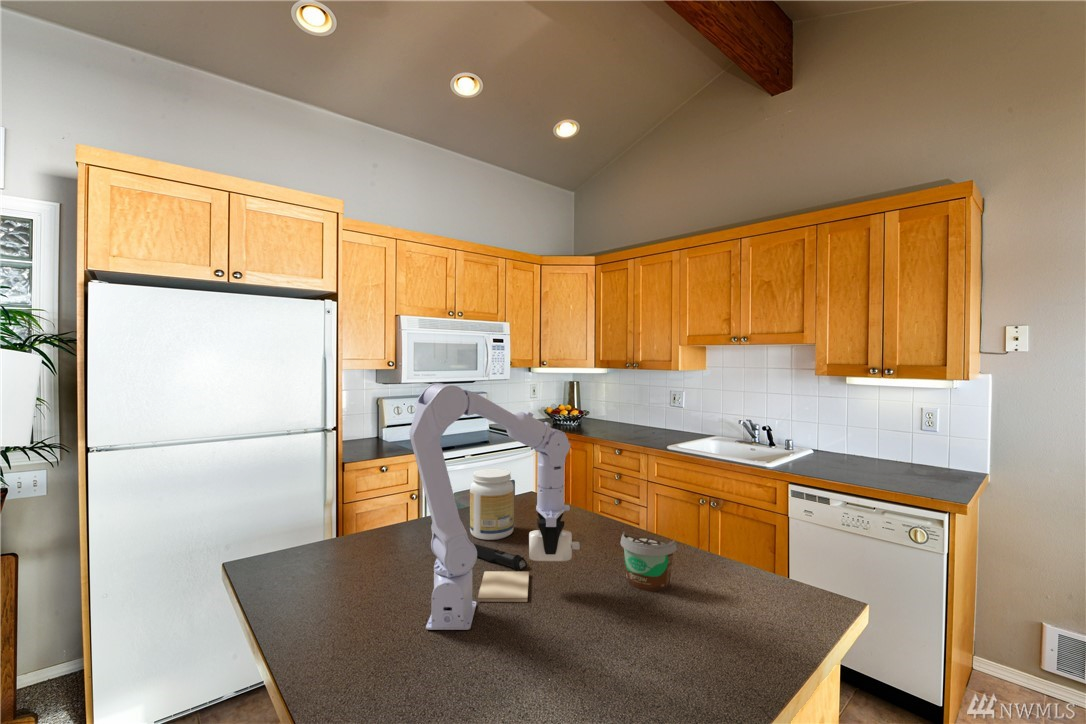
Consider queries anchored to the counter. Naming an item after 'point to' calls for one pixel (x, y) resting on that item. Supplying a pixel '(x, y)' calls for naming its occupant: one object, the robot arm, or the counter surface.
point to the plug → (562, 550)
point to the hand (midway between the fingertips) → (550, 549)
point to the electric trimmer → (501, 557)
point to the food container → (648, 562)
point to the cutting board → (504, 586)
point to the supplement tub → (491, 504)
